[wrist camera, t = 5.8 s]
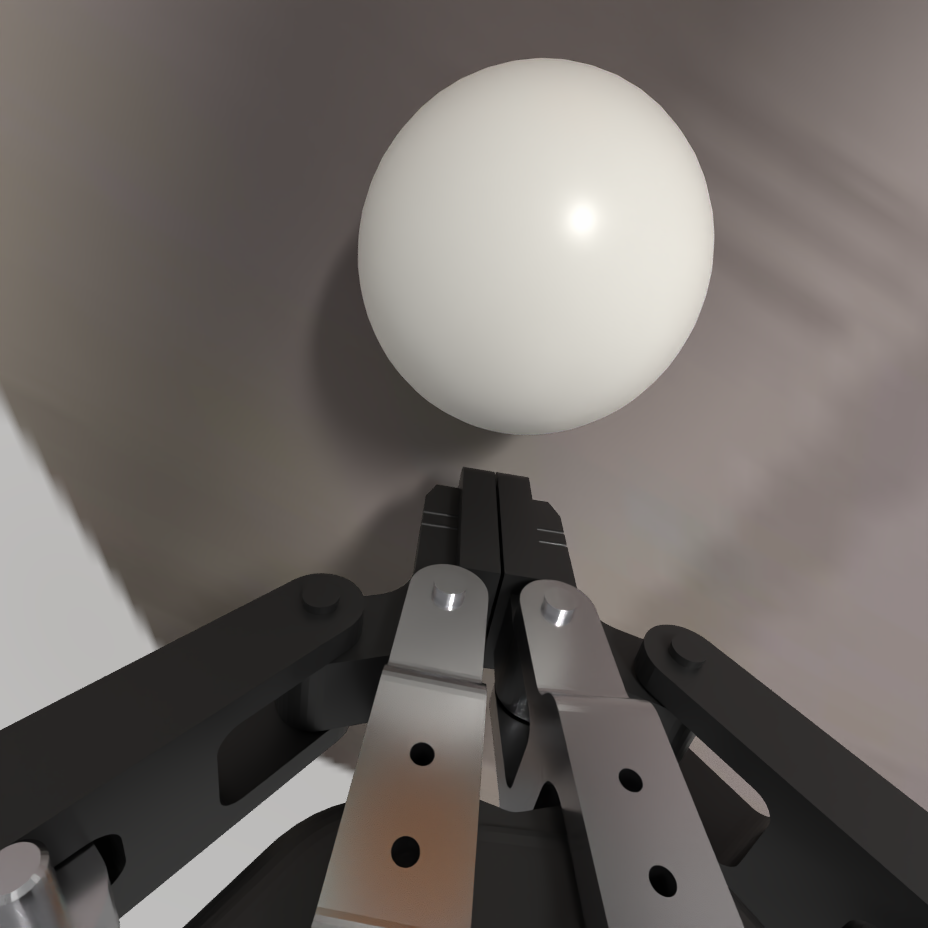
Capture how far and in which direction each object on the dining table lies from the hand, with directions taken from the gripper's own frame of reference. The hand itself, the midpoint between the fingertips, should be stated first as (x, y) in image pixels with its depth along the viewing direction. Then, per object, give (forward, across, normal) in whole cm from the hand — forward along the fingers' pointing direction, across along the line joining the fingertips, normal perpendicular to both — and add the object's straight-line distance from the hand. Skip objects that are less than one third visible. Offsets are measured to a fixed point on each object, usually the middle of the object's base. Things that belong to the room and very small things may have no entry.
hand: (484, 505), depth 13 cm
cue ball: (-1, 0, -6) cm, 6 cm away
